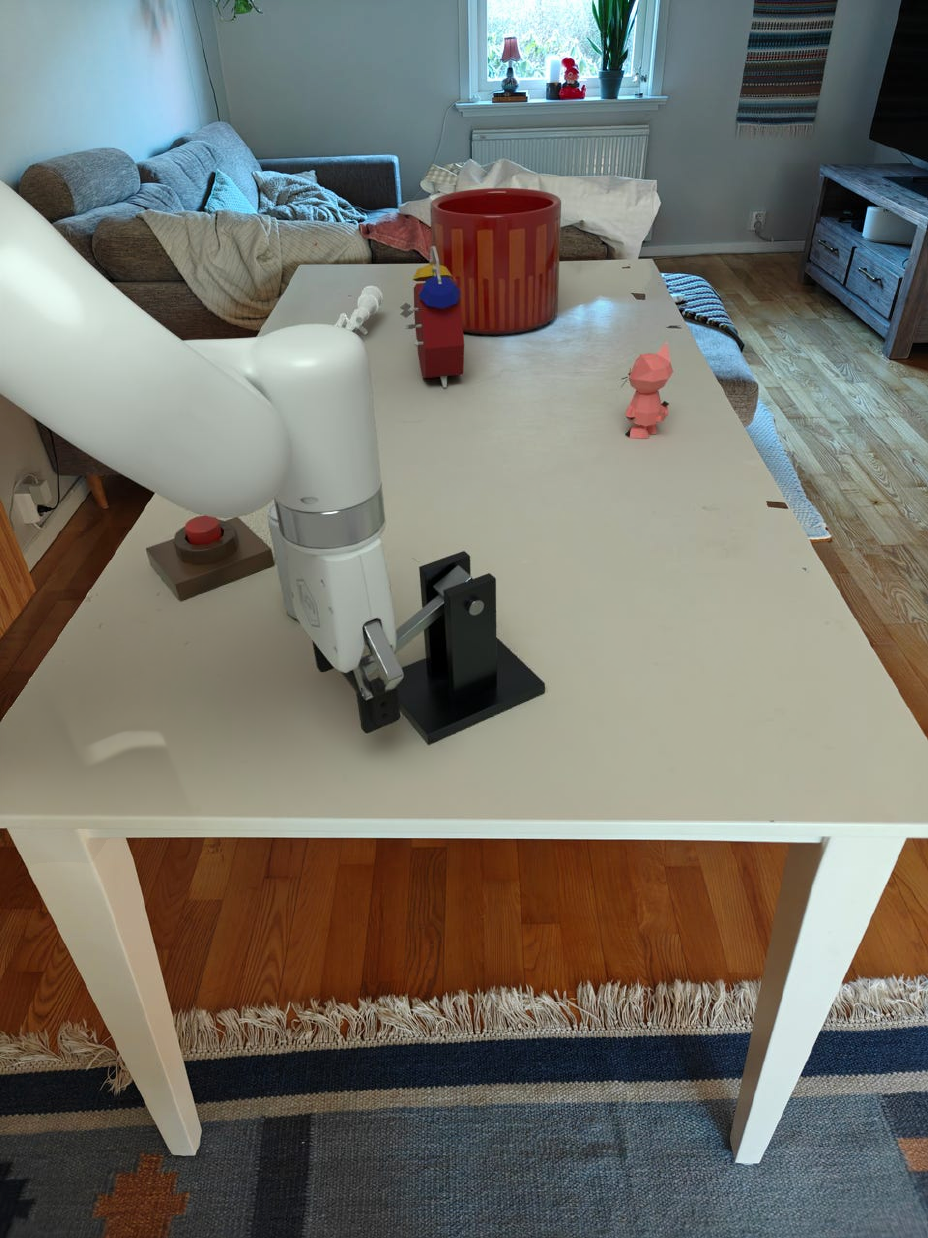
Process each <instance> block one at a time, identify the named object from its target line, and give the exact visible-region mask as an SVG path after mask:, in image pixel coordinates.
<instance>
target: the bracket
mask: <svg viewBox="0 0 928 1238" xmlns="http://www.w3.org/2000/svg"><path fill="white" fill-rule="evenodd" d="M458 565H459V566H460V567H461V568H462V569H463V570H465V571H466V572H467V573H468V574H469V575H470V576H471V577H472V573H471V571H472V569H471V555H470V554H469V553H467V552H466V551H465V550H461V551H460V552H457V553H454V554H451V555H449V556H445V557H442V558H440V559H437V560H434V561H431V562H429V563H426V564H425V563H424V564H423V565H420V566H418V571H419V572H418V573H419V584H420V598H421V609H422V608H423V607H425V606H426V605H427V604H428V603H429V602H431V601H432V600H433V599H434V598H436V597H437V596H438V593H437V592H436V590H435V589H434V587H433V585H435V584H436V583H437V582H438V581H440V580H441V579H442V578H443V577H444V576H446V575H447V574H448V573H449V572H450V571H452V570H453V569H454V568H455V567H456V566H458ZM443 594H444V612H445V613H444V614H442V615H441V616H440V617H439V618H438V619H436V620H435V621H434V622H433V623H432V624H430V625H429V626H428V627H427V628H426V629H424V630H423V637H424V638H423V639H424V651H425V657H424V658H422V659H419V660H417V661H414V662H412V663H410V664H406V665H404V666H401V668H402V671H403V674H404V677H403V679H402V680H401V682H400V686H399V687H398V688H397V691H398V700H399V710H400V712H401V713H402V714H403V715H404V717H405V718H406V719H407V720H408V721H409V723H410V724H411V725H412V726H413V728H414V729H415V730H416V731H417V732H418V734H419V735H420V736H421V738H423V740H424V741H425V743H426V744H427V745H428V746H429V745H432V744H434V743H436V742H439V741H441V740H443V739H445V738H447V737H449V736H452V735H454V734H457V733H459V732H461V731H463V730H466V729H467V728H470V727H472V726H474V725H476V724H478V723H481V722H484V721H485V720H488V719H490V718H492V717H495V716H496V715H498V714H499V715H500V714H501V713H503V712H506V711H508V710H510V709H512V708H514V707H517V706H518V705H521V704H523V703H526V702H528V701H530V700H532V699H535V698H537V697H539V696H541V695H543V694H545V693H546V692H545V691H546V683H545V681H543V679H541V677H539V676H538V675H537V674H536V673H535V672H534V671H533V670H532V669H531V668H529V666H527V665H526V663H524V661H522V660H521V659H520V658H519V657H518V656H517V655H516V654H515V653H514V652H513V651H512V650H511V649H510V648H509V647H507V645H506V644H505V643H503V641H502V640H500V639H499V638H498V637H497V579H496V577H495V576H493V574H492V573H490V572H488V573H485V574H483V575H480V576H477V577H475V578H473V579H472V580H469V581H466V582H464V583H461V584H458V585H456V586H453V587H450V588H447V589H445V590H443Z"/></svg>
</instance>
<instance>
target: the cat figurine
mask: <svg viewBox="0 0 928 1238" xmlns="http://www.w3.org/2000/svg"><path fill="white" fill-rule="evenodd" d="M673 374H674V368H673V366H672V363H671V357H670V351H669V344H668V342H665V344H664V345H663V346H662V347H661V348H660V349H659V351H658V352H657V353H652V352H646V353H642V354H640V353H639V356H638V357H637V358H635V361H634V364H633V366H632V367H630V368H629V372H628V376H625V377H622V378H621V380H625V379H626V380H625V381H624V382H623V383H622V385H620V388H622V387H623V386H624V384H626V382H628V381H629V384H630V386H631V388H633V389H635V392H634V394H633V396H632V399H631V402H630V404H629V405H628V406H627V408H626V410H625V415H624V416H625V418H627V421H628V422H631V423H633V424H635V425H633V426H632V427H630V429H628V430H627V431H626V433H625V434H624V435H625V436H626V437H628V438H630V439H639V440H640V439H649V438H650V437H651V436H650V434H651V435H657V434H658V430H657V424H658V423H659V422H660V423H662V422H663V421H665V419H666V418H667V416H668V415H669V407H668V406H669V405H670V403H669V402H668V401H665V400H664V401H663V402H662V400H661V395H660V391H659V390H661V389H663V388H664V387H665V386H666V384H667V382H668V380H669V379H670V378H671V376H672V375H673Z"/></svg>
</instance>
